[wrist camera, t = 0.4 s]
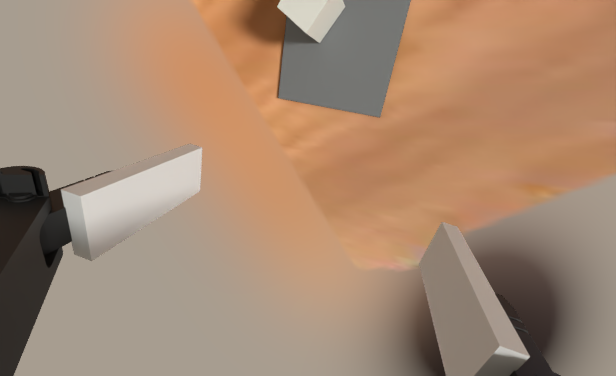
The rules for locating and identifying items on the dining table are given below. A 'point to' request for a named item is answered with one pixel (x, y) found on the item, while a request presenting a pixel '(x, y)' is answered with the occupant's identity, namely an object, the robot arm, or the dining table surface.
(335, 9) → the white block
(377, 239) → the dining table surface
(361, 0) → the mat
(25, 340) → the robot arm
